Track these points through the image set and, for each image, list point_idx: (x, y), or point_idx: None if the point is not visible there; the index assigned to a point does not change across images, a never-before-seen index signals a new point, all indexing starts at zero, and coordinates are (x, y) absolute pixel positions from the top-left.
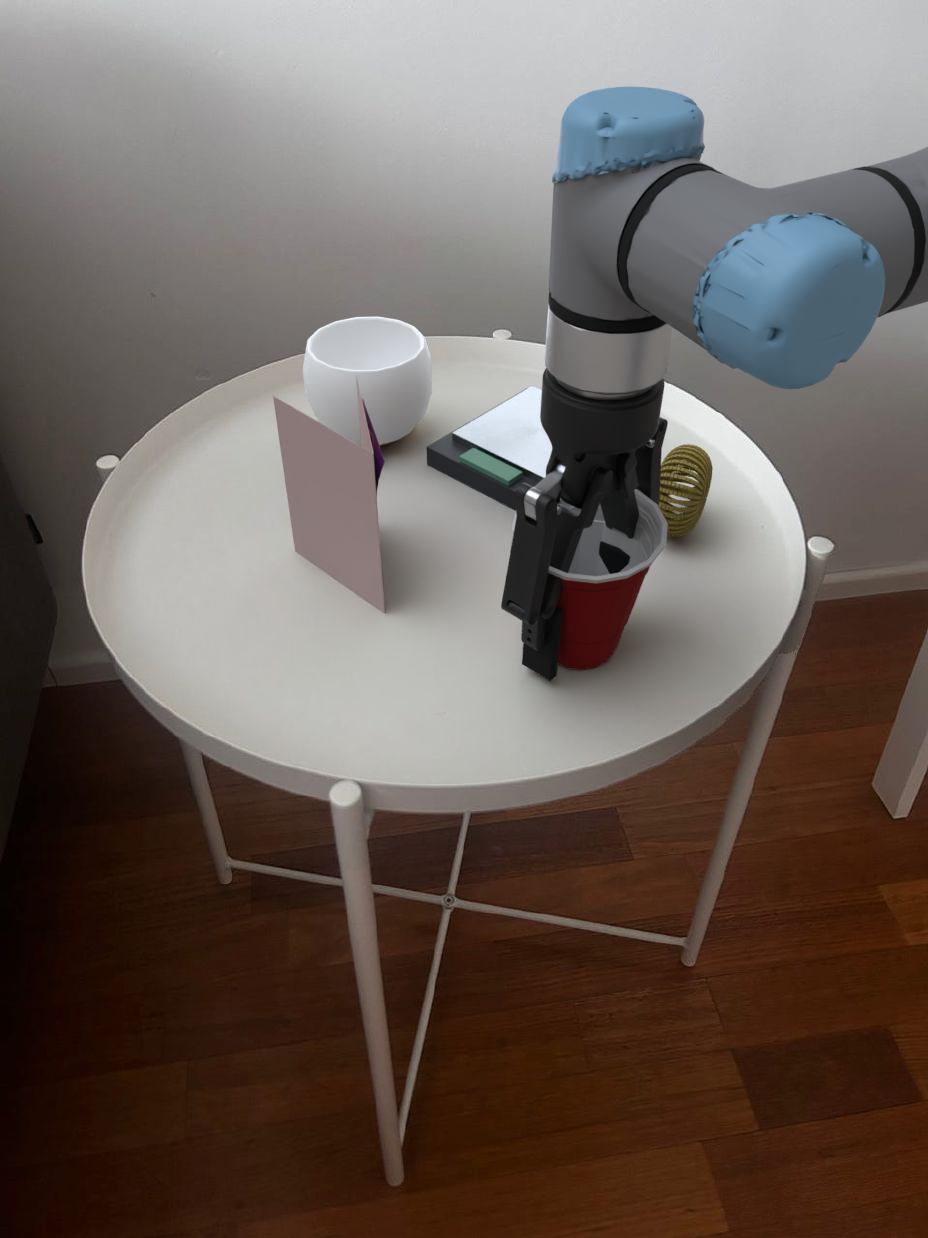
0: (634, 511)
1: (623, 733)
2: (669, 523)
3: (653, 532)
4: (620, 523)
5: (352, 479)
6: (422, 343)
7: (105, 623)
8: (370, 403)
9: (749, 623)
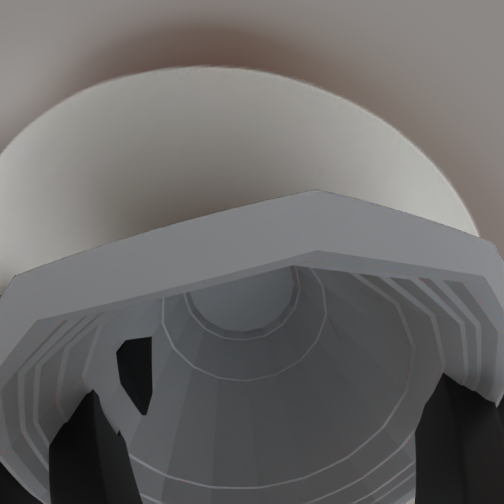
0: (65, 475)
1: (331, 124)
2: None
3: (37, 381)
4: (110, 451)
5: None
6: None
7: None
8: None
9: (37, 154)
